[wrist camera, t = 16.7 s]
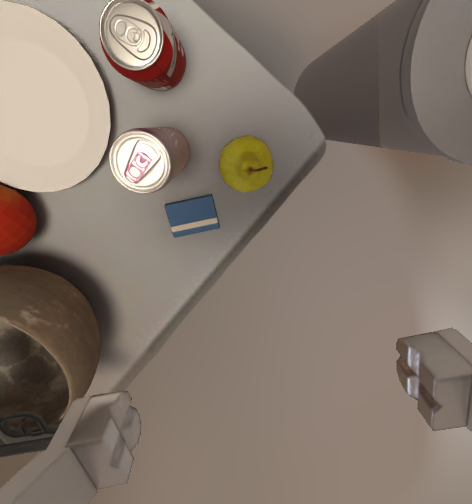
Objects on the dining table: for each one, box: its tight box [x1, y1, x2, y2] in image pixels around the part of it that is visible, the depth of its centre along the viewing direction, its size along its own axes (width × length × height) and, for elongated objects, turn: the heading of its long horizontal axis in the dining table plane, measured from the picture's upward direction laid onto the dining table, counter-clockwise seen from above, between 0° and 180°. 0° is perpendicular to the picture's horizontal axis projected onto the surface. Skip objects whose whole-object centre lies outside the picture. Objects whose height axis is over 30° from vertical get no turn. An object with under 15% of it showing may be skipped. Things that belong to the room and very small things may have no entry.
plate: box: [0, 0, 111, 192], centre depth 38 cm, size 21×21×2 cm
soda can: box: [99, 0, 186, 91], centre depth 32 cm, size 7×7×12 cm
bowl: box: [0, 265, 100, 428], centre depth 44 cm, size 24×24×15 cm
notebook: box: [165, 194, 220, 237], centre depth 45 cm, size 7×5×1 cm
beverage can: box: [109, 127, 190, 193], centre depth 35 cm, size 6×6×15 cm
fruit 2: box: [219, 136, 273, 192], centre depth 37 cm, size 7×7×12 cm
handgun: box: [0, 412, 60, 457], centre depth 38 cm, size 2×17×12 cm
